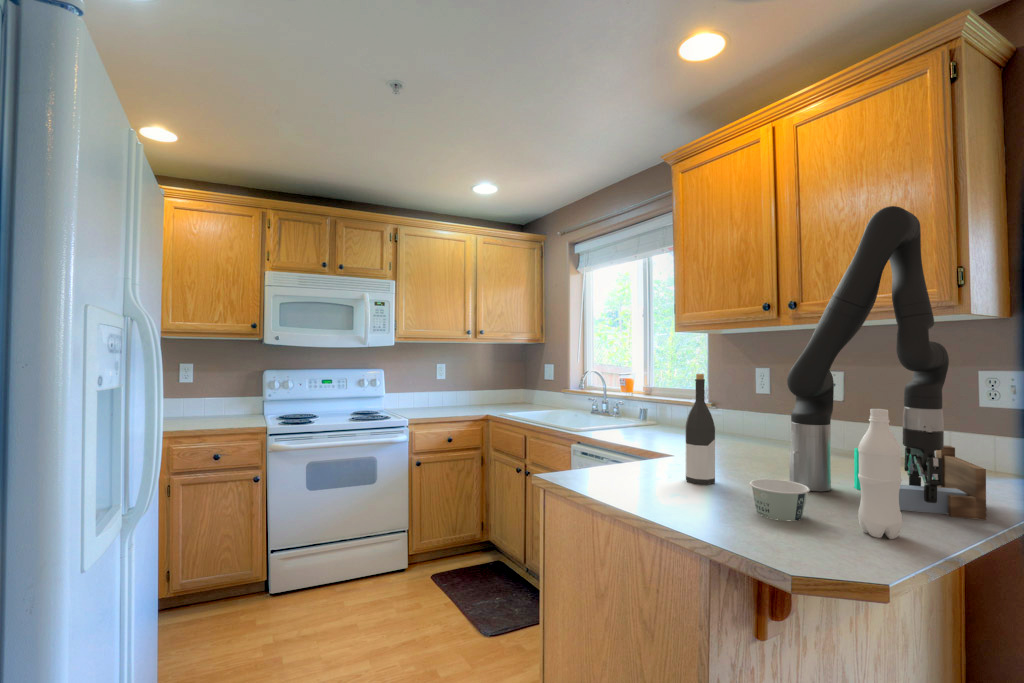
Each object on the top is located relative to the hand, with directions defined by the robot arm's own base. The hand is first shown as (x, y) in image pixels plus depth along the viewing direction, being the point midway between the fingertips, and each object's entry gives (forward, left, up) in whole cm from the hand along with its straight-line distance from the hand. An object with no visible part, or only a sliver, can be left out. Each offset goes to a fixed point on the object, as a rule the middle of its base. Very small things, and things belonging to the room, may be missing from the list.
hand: (922, 497), depth 123 cm
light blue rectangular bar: (0, 0, -3) cm, 3 cm away
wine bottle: (-48, +11, -3) cm, 50 cm away
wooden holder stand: (+7, +4, -3) cm, 8 cm away
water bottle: (-15, -22, -3) cm, 27 cm away
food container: (-32, -14, -3) cm, 36 cm away
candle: (-6, +17, -3) cm, 18 cm away
